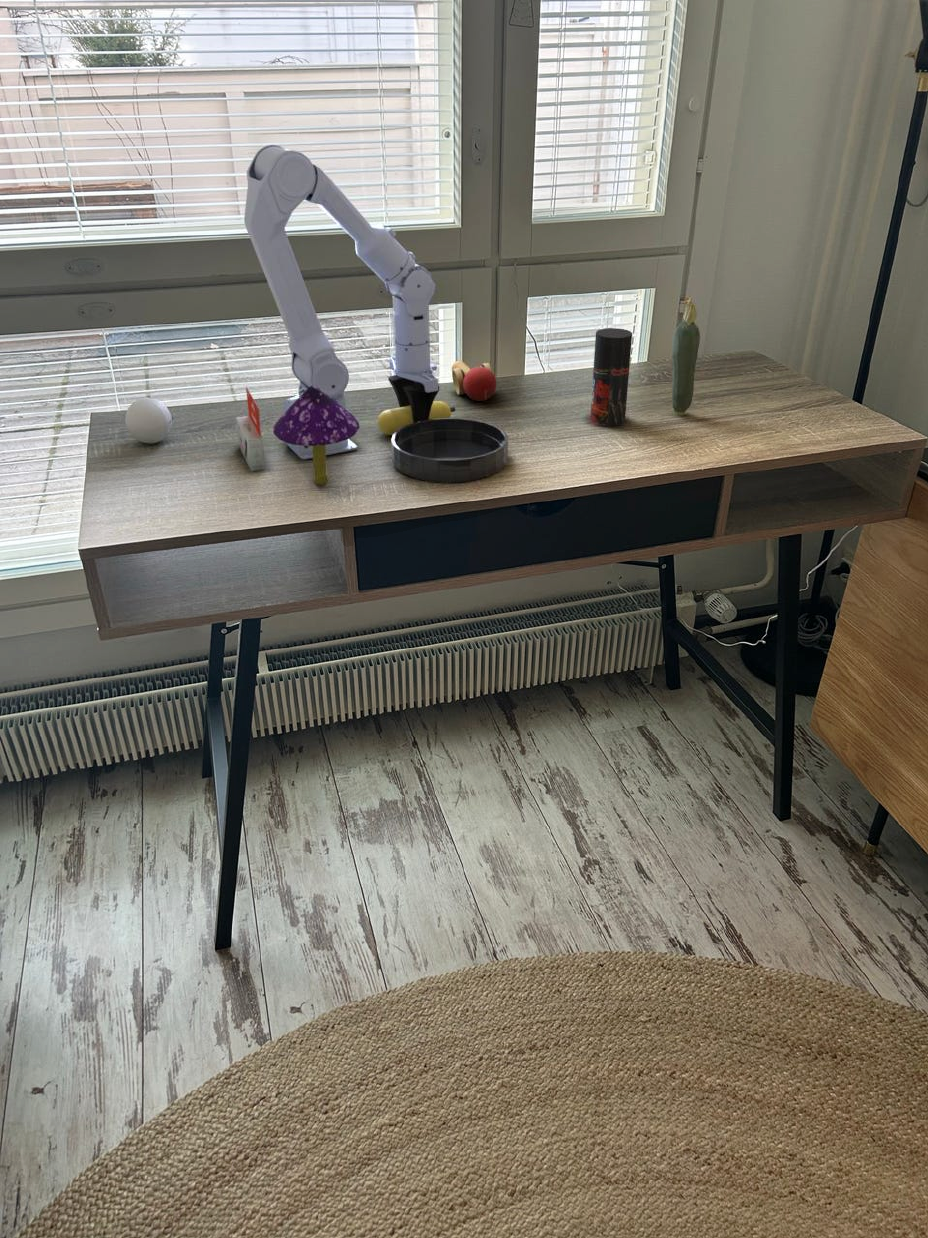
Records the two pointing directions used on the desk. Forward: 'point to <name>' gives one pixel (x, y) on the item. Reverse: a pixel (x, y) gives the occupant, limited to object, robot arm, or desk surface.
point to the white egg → (148, 420)
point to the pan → (449, 449)
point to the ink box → (251, 436)
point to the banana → (409, 416)
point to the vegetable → (685, 359)
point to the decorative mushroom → (316, 426)
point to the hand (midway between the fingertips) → (415, 421)
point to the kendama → (474, 380)
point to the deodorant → (610, 376)
